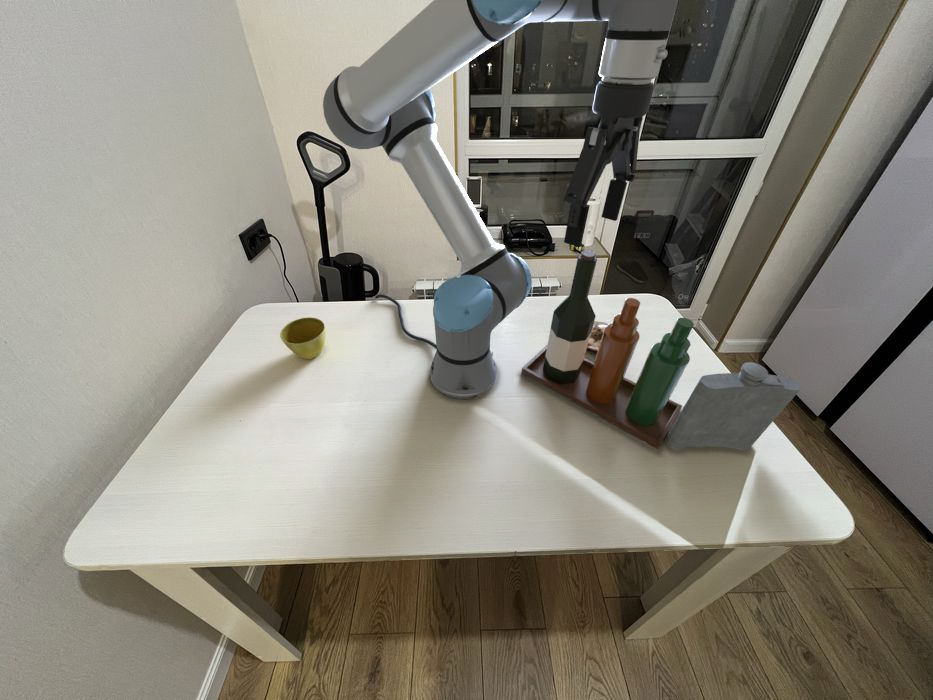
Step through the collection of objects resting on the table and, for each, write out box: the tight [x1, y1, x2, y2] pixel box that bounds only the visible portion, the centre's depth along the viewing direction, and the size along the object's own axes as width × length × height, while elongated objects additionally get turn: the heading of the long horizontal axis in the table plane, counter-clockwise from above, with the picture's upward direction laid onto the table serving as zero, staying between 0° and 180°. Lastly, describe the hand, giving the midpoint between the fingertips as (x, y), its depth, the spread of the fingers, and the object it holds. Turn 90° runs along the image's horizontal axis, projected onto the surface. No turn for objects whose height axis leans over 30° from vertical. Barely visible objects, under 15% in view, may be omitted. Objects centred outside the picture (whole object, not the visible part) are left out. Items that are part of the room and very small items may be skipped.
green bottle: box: [625, 317, 695, 426], centre depth 70 cm, size 6×6×24 cm
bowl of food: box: [585, 320, 609, 356], centre depth 95 cm, size 15×15×4 cm
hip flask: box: [665, 361, 802, 451], centre depth 67 cm, size 16×4×20 cm, turn 88°
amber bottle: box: [586, 297, 641, 404], centre depth 75 cm, size 6×6×24 cm
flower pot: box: [279, 317, 326, 360], centre depth 92 cm, size 10×10×7 cm
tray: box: [520, 345, 683, 450], centre depth 83 cm, size 32×13×2 cm, turn 49°
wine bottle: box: [543, 249, 598, 385], centre depth 78 cm, size 8×8×30 cm
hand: (591, 230), depth 65 cm, fingers open, 13 cm apart
